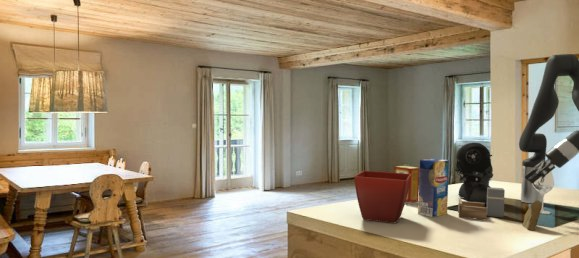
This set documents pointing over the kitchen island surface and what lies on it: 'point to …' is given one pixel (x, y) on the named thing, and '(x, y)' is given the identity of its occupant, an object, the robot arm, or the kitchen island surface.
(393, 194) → the plant pot
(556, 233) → the kitchen island surface
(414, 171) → the baking soda box
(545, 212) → the wineglass
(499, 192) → the grey lidded box
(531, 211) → the rock
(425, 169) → the beverage box
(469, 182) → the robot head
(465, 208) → the brown open box
